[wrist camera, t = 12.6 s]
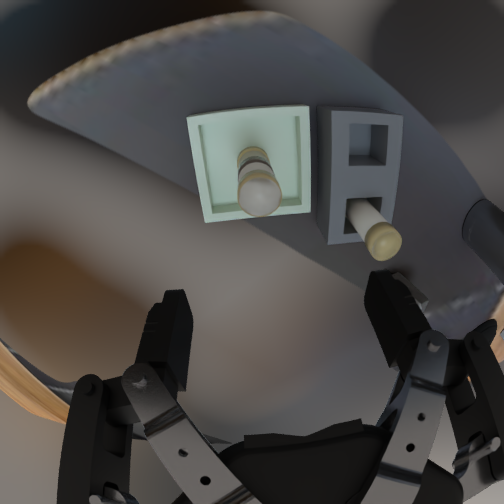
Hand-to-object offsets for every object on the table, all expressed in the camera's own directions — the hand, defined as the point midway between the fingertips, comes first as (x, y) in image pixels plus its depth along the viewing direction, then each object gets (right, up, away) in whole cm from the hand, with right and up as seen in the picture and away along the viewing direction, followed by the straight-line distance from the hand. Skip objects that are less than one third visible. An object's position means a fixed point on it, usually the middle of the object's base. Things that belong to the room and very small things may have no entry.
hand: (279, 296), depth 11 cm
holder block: (+10, +12, +19) cm, 24 cm away
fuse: (+11, +8, +20) cm, 24 cm away
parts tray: (-1, +12, +18) cm, 22 cm away
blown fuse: (-1, +12, +17) cm, 21 cm away
